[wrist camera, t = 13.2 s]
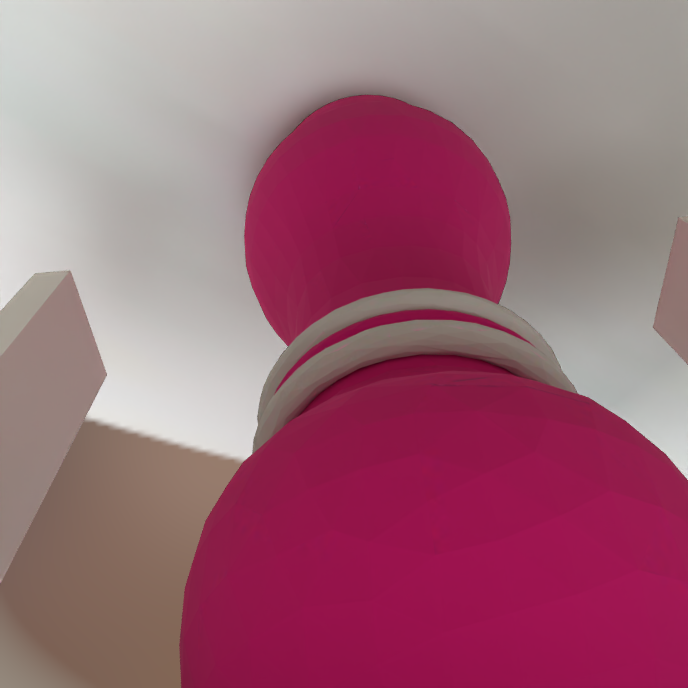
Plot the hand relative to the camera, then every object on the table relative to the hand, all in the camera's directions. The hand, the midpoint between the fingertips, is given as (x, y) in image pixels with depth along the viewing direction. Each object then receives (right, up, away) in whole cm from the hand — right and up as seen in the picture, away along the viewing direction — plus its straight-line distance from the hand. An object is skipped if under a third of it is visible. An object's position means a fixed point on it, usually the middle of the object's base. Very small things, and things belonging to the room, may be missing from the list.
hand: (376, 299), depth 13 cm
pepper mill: (0, +4, +7) cm, 8 cm away
